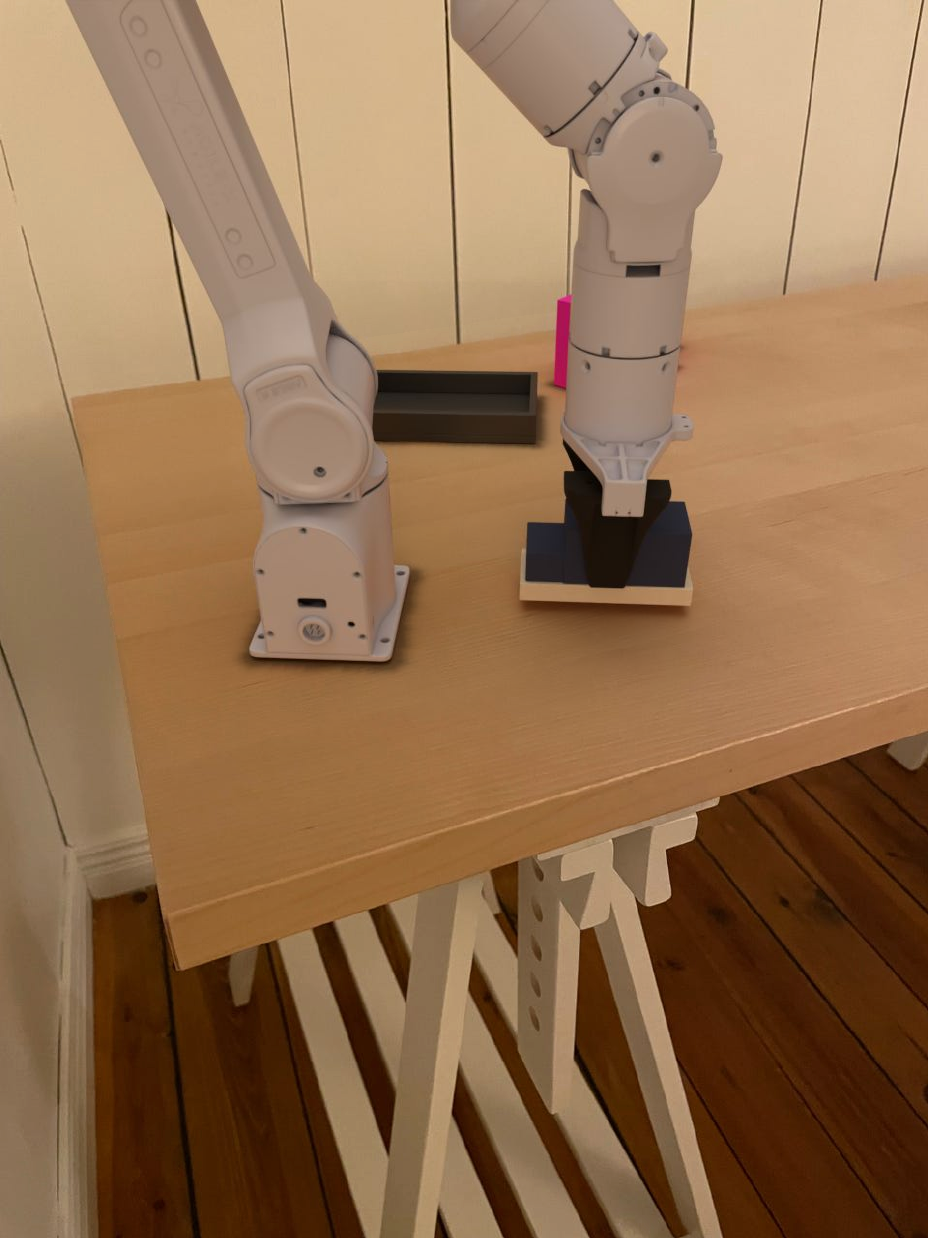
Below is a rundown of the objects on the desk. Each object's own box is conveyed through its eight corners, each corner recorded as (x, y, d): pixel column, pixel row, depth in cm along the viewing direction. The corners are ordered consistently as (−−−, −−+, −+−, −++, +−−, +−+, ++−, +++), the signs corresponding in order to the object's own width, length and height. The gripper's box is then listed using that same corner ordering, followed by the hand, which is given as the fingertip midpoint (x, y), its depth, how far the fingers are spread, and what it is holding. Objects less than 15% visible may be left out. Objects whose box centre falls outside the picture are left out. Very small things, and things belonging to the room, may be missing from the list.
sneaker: (683, 569, 60) (693, 500, 57) (691, 606, 57) (702, 534, 54) (521, 564, 61) (523, 495, 58) (519, 600, 57) (521, 529, 55)
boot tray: (535, 443, 77) (536, 415, 75) (345, 440, 78) (342, 411, 77) (536, 398, 84) (537, 371, 83) (363, 395, 85) (361, 369, 84)
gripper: (724, 396, 44) (687, 639, 52) (687, 297, 56) (661, 507, 63) (566, 393, 44) (553, 634, 52) (563, 296, 56) (553, 505, 64)
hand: (605, 565), depth 58 cm, fingers closed on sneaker, 4 cm apart
